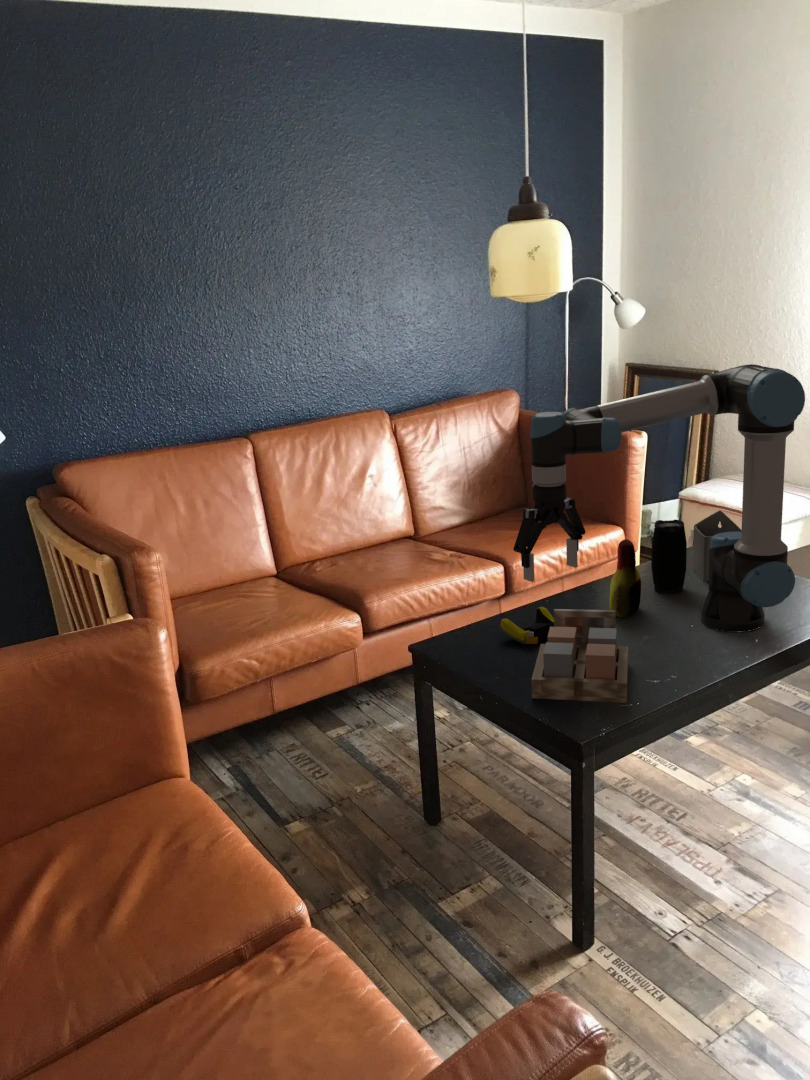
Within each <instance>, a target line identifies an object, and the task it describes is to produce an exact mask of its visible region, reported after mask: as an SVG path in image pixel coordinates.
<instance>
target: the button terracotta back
mask: <svg viewBox="0 0 810 1080" xmlns="http://www.w3.org/2000/svg"><path fill="white" fill-rule="evenodd" d="M547 642H552V643H574V660H576V654H577V629H576V627H550V629H549V633H548V640H547Z"/></svg>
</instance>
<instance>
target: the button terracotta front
mask: <svg viewBox="0 0 810 1080" xmlns="http://www.w3.org/2000/svg"><path fill="white" fill-rule="evenodd" d="M615 671H616V658H615V645H614V644H587V649H586V679H606V680H615Z"/></svg>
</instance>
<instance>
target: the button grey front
mask: <svg viewBox="0 0 810 1080" xmlns="http://www.w3.org/2000/svg"><path fill="white" fill-rule="evenodd" d="M545 644H546V645H545V649H544V653H543V661H544V677H559V678H572V677H573V671H574V643H552V642H548V641H546V642H545Z"/></svg>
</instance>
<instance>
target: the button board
mask: <svg viewBox="0 0 810 1080" xmlns="http://www.w3.org/2000/svg"><path fill="white" fill-rule="evenodd" d="M553 618H554V627H576V629H577V654H576V660H574V671H573V677H572V678H559V677H544V661H543V653H544V649H545V645H546V643H540V646H539V651H538V654H537V657H536V661H535V664H534V668H533V673H532V677H531V699H539V700H541V699H543V700H559V701H560V700H563V701H580V702H581V701H582V702H583V701H584V702H600V703H601V702H603V703H604V702H605V703H624V704H625V703H627V699H628V680H629V646H624V645H623V646H621V645H619V646H618V645H617V658H616V671H615V680H606V679H586V649H587V644H588V636H589V630H590V628H616V616H615V610H610V609H578V608H577V609H576V608H575V609H574V608H573V609H571V608H569V609H568V608H567V609H565V608H553Z"/></svg>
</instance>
